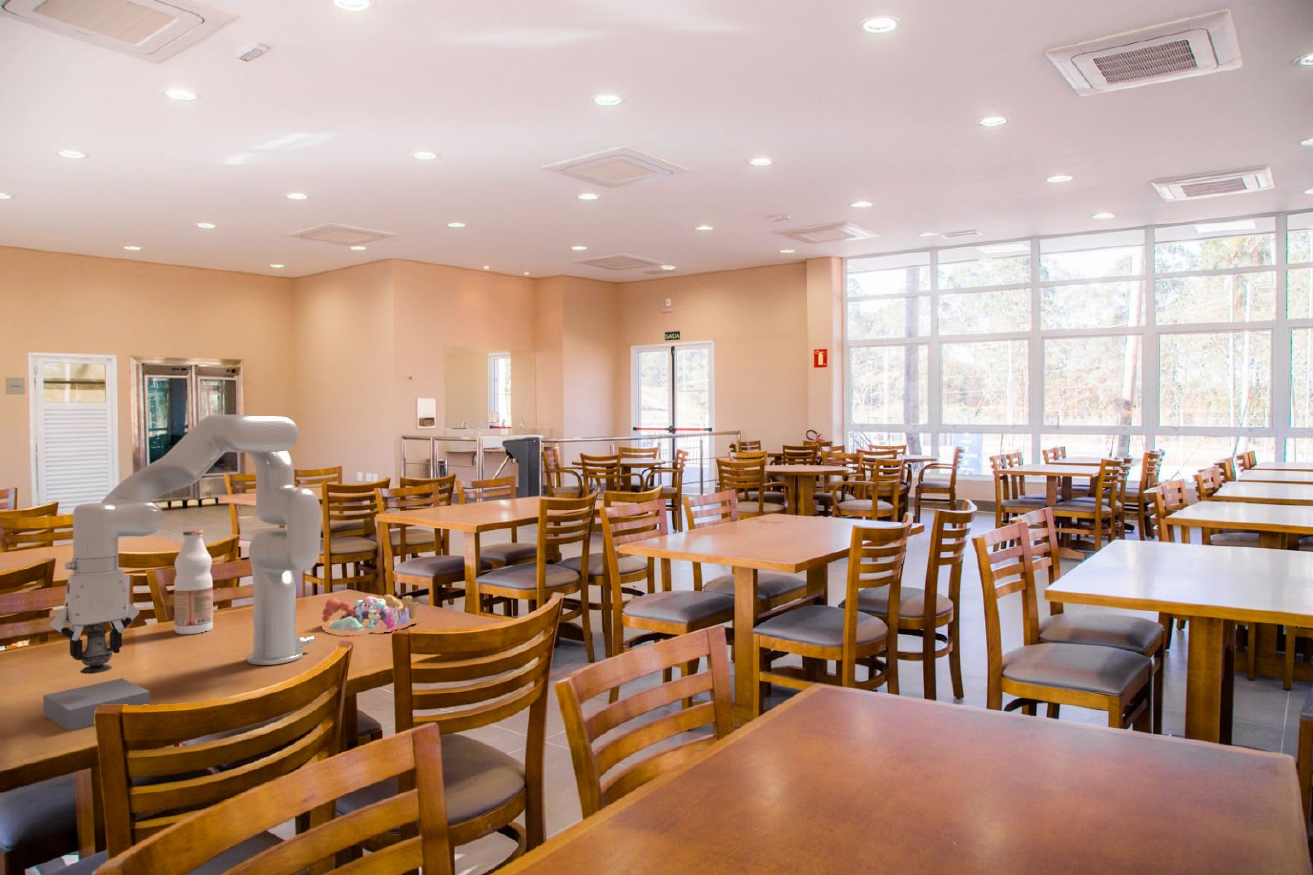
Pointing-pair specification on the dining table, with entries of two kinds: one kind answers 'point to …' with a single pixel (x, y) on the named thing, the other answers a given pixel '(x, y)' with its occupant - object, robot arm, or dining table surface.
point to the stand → (90, 702)
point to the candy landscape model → (370, 612)
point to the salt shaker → (96, 650)
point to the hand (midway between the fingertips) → (96, 654)
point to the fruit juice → (193, 586)
